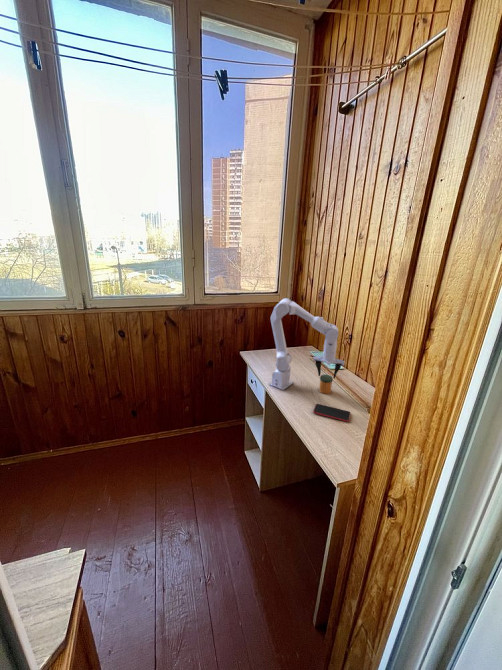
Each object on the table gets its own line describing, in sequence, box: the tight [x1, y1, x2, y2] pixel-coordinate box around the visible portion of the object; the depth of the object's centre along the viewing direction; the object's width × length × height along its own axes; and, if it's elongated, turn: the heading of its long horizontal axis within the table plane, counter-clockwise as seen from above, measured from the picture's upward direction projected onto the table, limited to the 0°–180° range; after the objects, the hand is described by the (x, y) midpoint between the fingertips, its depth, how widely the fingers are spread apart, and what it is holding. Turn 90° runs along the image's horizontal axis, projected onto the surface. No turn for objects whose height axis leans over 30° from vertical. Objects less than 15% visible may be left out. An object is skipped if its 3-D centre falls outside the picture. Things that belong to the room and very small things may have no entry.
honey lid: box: [319, 374, 334, 383], centre depth 144 cm, size 6×6×1 cm
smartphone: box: [312, 403, 351, 423], centre depth 128 cm, size 7×1×15 cm
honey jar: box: [318, 379, 333, 395], centre depth 145 cm, size 6×6×7 cm
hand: (326, 376), depth 143 cm, fingers open, 6 cm apart
